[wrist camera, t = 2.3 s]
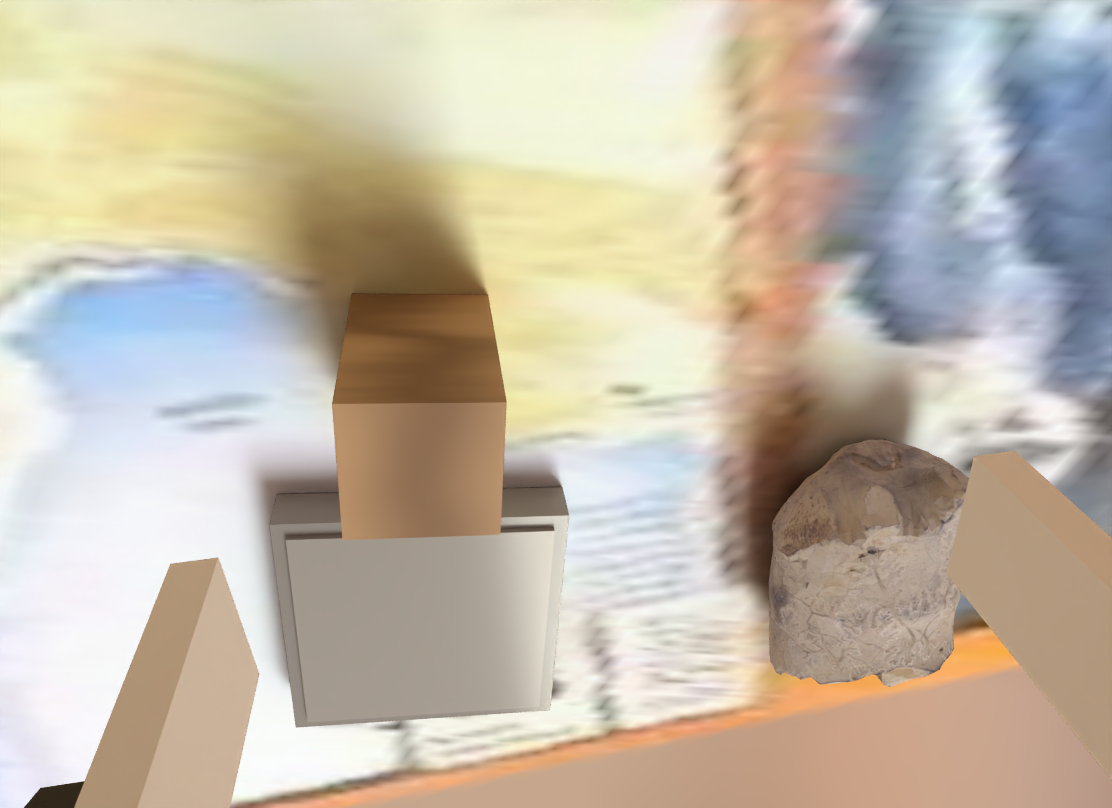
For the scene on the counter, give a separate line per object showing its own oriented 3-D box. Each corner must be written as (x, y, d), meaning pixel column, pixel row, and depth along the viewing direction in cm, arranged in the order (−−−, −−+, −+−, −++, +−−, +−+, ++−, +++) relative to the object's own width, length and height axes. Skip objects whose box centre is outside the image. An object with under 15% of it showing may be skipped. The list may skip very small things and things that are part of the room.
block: (358, 409, 33) (342, 540, 26) (351, 293, 31) (332, 404, 24) (484, 408, 34) (500, 534, 27) (488, 294, 31) (506, 402, 25)
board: (300, 692, 41) (295, 731, 39) (276, 494, 34) (268, 528, 33) (544, 678, 42) (550, 714, 40) (562, 487, 36) (569, 519, 34)
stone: (921, 402, 37) (1014, 496, 31) (897, 597, 43) (969, 706, 37) (745, 433, 36) (805, 534, 31) (746, 625, 43) (796, 739, 37)
